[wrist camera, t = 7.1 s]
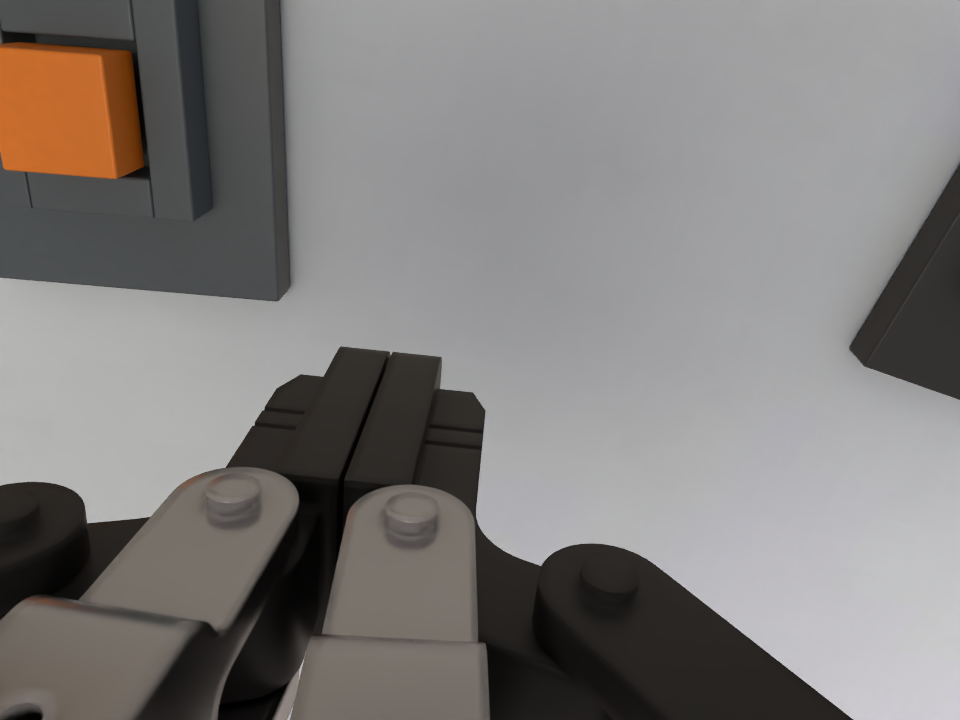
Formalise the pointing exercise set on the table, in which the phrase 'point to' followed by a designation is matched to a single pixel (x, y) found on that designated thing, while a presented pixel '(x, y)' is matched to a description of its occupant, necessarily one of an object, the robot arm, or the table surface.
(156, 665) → the robot arm
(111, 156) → the key
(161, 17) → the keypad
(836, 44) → the table surface
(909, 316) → the dark grey button panel
